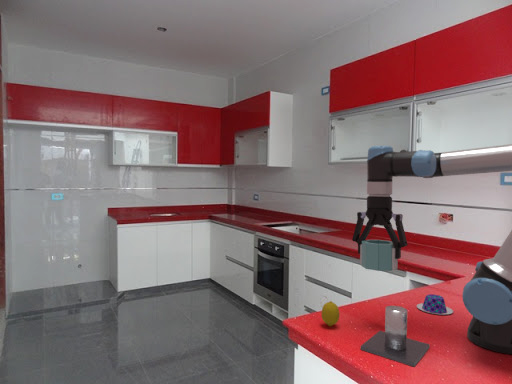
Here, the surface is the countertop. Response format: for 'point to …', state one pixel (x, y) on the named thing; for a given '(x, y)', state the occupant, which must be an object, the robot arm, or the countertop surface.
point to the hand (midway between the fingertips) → (378, 266)
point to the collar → (377, 255)
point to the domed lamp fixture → (396, 339)
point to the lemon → (330, 313)
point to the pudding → (434, 305)
